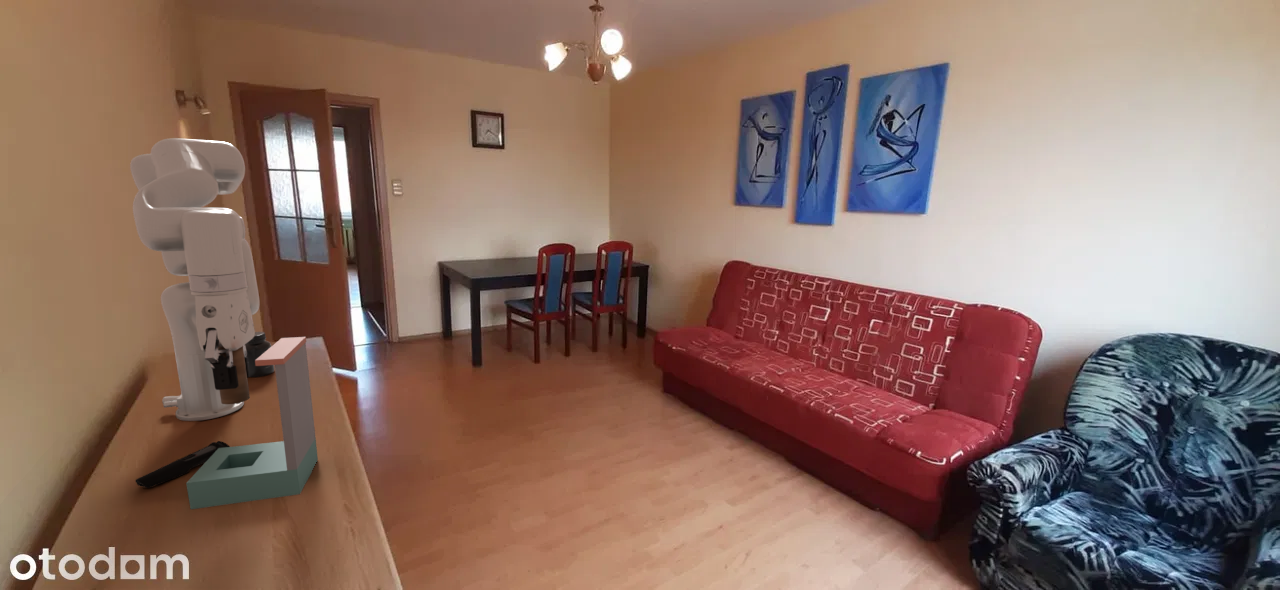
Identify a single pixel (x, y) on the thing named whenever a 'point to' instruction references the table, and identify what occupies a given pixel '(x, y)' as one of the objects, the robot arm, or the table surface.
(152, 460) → the table surface
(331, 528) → the table surface
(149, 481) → the electric trimmer
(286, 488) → the socket stand
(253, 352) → the supplement bottle
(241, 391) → the walnut peg
